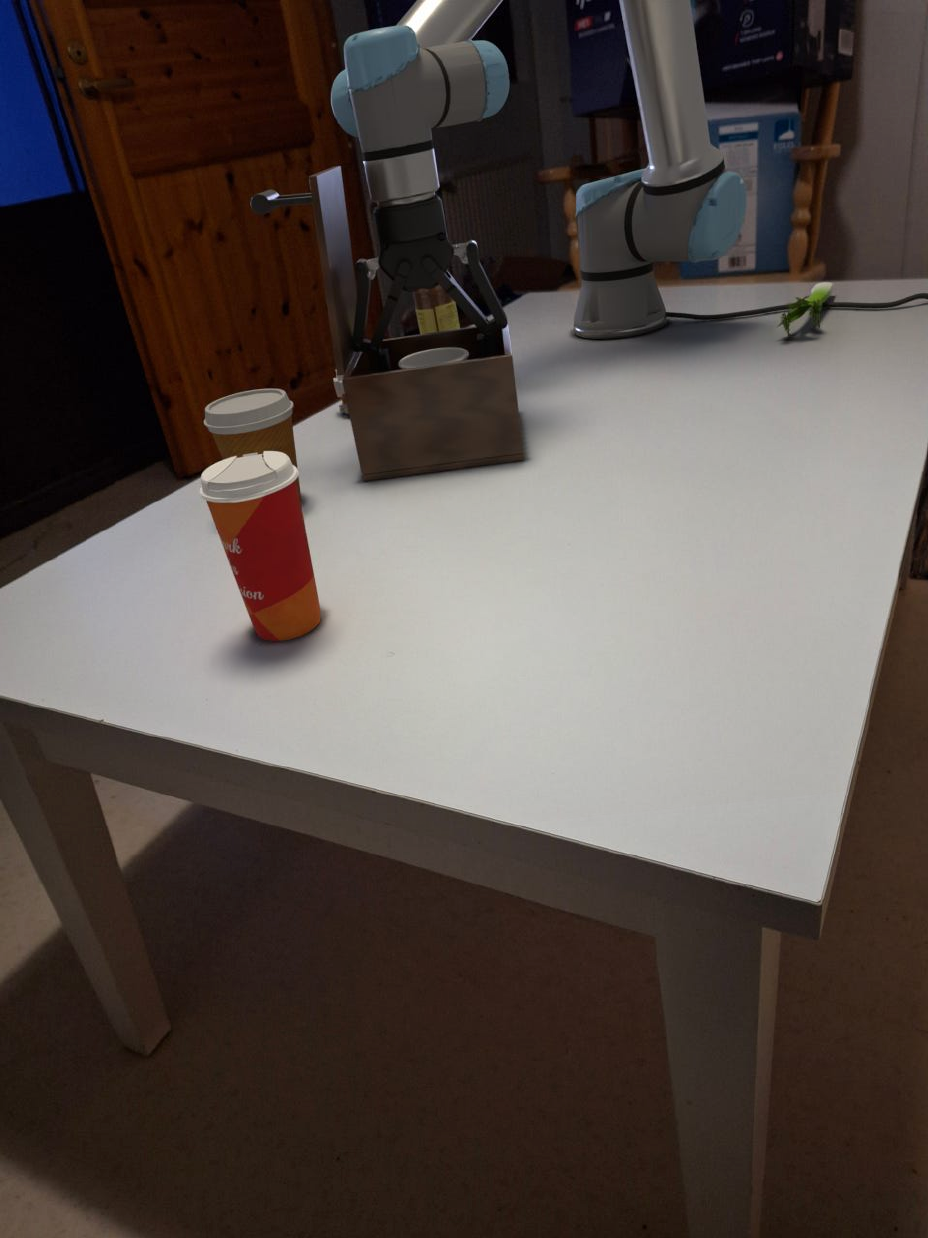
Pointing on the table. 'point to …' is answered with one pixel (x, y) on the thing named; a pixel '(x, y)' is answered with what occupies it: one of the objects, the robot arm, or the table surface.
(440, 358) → the dixie cup
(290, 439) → the disposable coffee cup
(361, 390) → the chest
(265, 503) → the paper cup
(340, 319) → the lid
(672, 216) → the robot arm
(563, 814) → the table surface
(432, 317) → the sauce bottle
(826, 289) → the leek
